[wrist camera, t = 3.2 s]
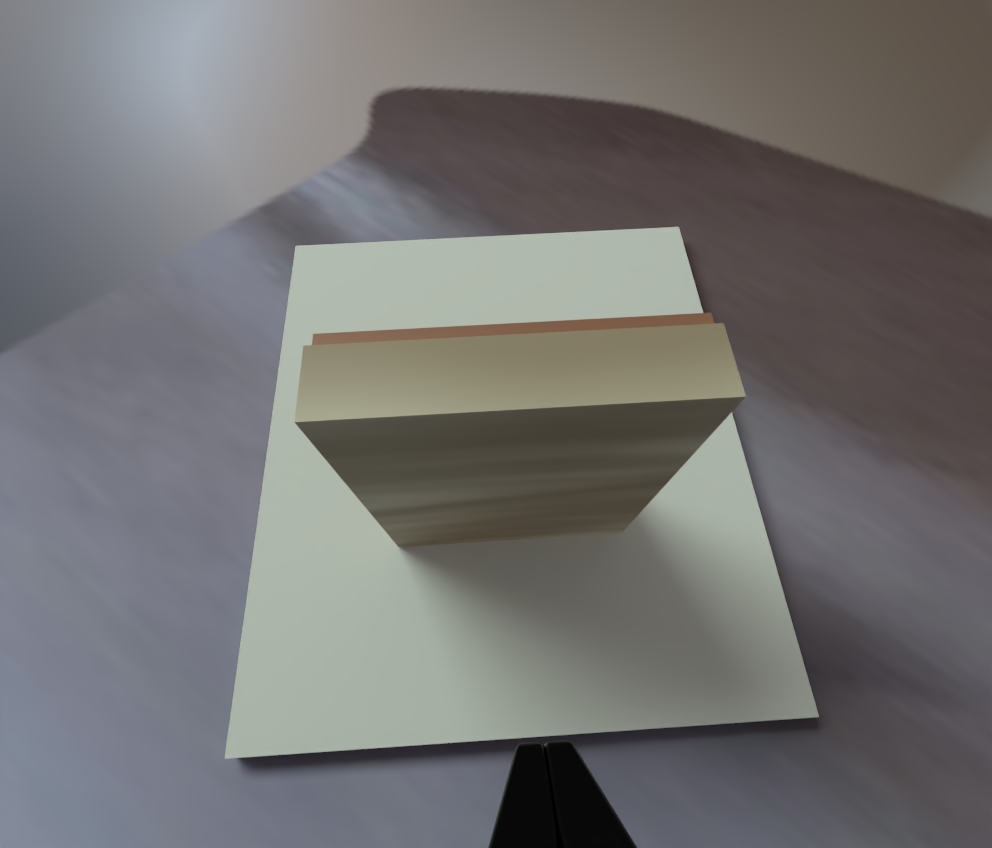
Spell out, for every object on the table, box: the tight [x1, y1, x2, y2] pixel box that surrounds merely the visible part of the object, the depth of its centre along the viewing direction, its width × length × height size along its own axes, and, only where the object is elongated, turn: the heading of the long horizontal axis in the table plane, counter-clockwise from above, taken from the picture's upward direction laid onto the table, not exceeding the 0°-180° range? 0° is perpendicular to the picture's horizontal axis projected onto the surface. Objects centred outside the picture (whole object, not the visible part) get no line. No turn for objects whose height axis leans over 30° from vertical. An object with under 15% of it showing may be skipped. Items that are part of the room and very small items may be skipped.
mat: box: [225, 227, 819, 759], centre depth 18 cm, size 18×16×1 cm
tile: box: [294, 313, 746, 547], centre depth 12 cm, size 2×7×9 cm, turn 94°
